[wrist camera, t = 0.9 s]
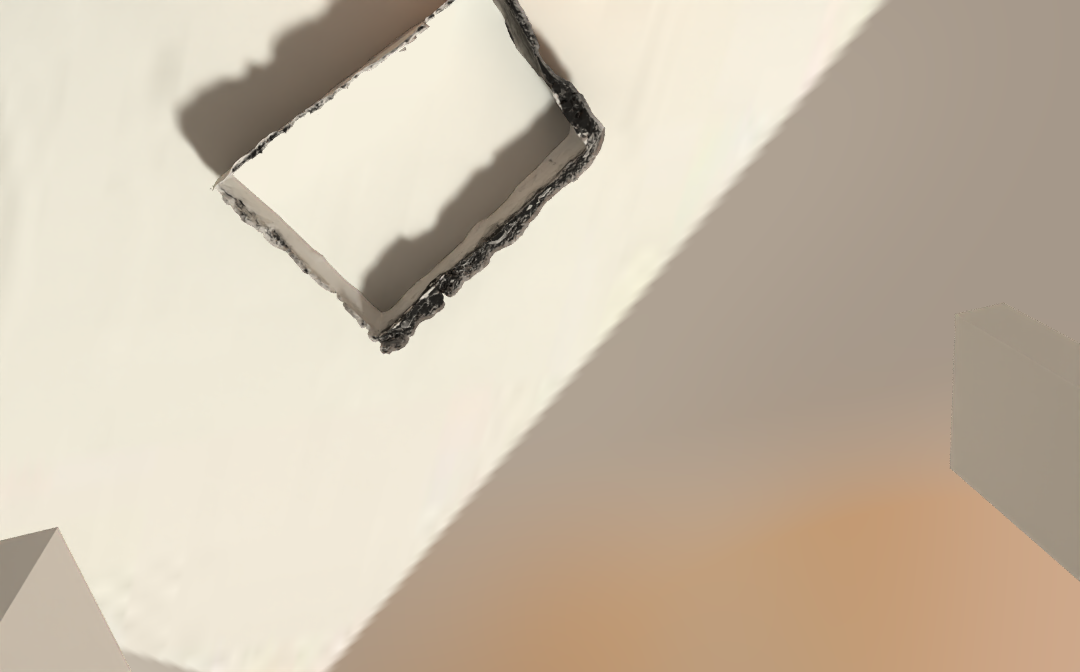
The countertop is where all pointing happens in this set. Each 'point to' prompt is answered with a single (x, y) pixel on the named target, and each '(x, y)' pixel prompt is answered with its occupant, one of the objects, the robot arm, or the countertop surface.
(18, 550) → the robot arm
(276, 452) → the countertop surface
